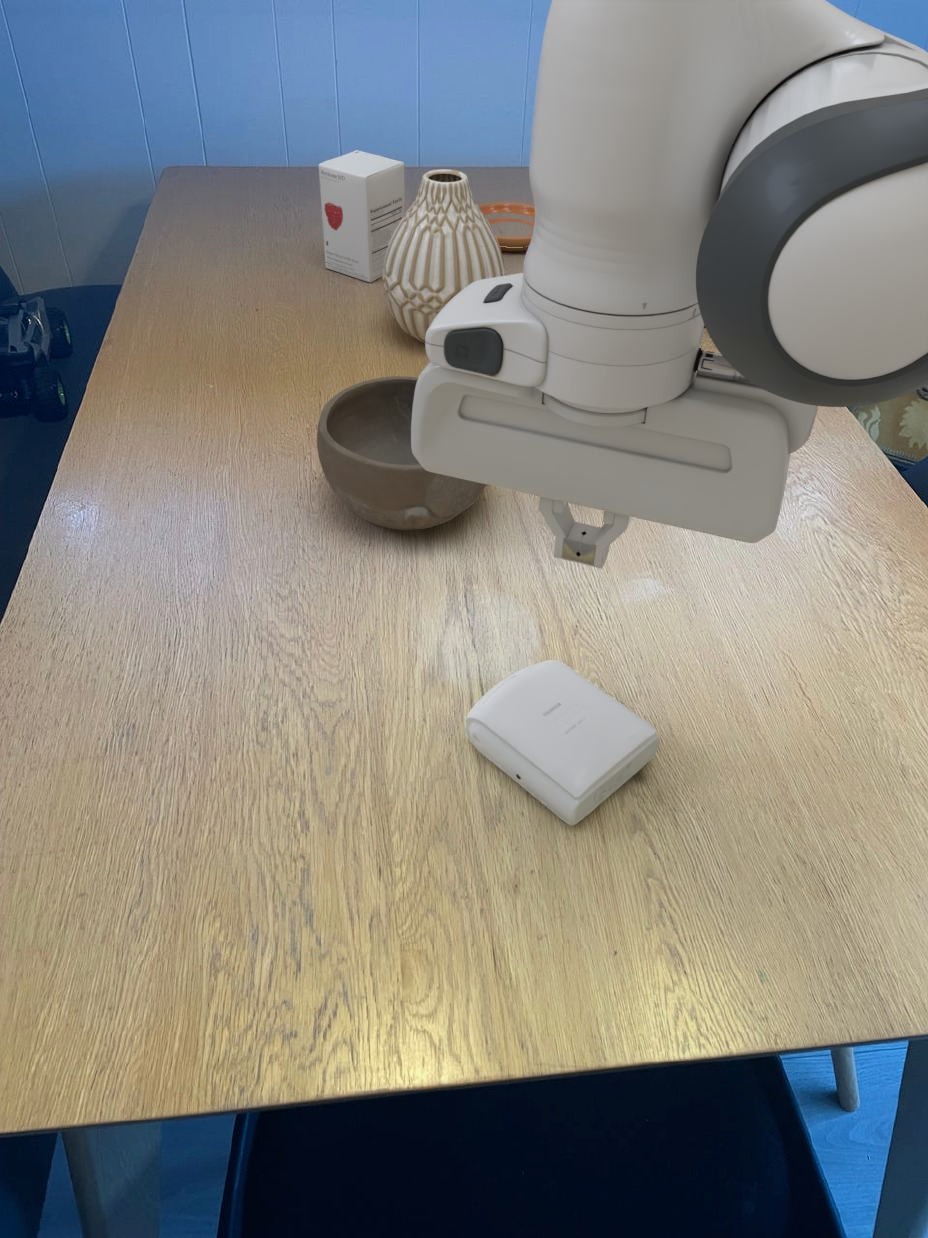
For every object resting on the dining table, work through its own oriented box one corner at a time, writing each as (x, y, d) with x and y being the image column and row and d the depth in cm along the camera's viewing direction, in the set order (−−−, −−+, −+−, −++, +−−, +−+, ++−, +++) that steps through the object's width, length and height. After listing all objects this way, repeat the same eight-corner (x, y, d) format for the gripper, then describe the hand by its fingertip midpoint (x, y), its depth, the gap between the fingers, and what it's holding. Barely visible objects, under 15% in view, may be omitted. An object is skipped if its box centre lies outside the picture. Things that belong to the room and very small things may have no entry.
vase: (481, 369, 118) (488, 205, 105) (365, 347, 122) (357, 186, 108) (516, 318, 130) (526, 165, 116) (409, 300, 133) (407, 149, 120)
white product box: (323, 268, 141) (315, 162, 131) (361, 251, 146) (356, 147, 136) (370, 284, 137) (365, 176, 127) (407, 265, 142) (405, 160, 132)
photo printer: (574, 801, 63) (451, 700, 70) (567, 837, 66) (450, 738, 73) (667, 725, 69) (545, 638, 75) (657, 762, 72) (541, 675, 78)
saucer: (526, 263, 144) (528, 244, 142) (441, 240, 150) (441, 221, 148) (575, 233, 154) (577, 215, 152) (493, 213, 160) (494, 195, 158)
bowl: (458, 570, 88) (461, 481, 82) (290, 527, 93) (280, 440, 86) (514, 476, 100) (521, 392, 94) (364, 442, 105) (359, 359, 98)
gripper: (833, 344, 45) (767, 567, 54) (441, 279, 50) (441, 492, 60) (823, 404, 41) (752, 635, 50) (394, 326, 46) (402, 549, 55)
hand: (580, 557), depth 55 cm, fingers closed
